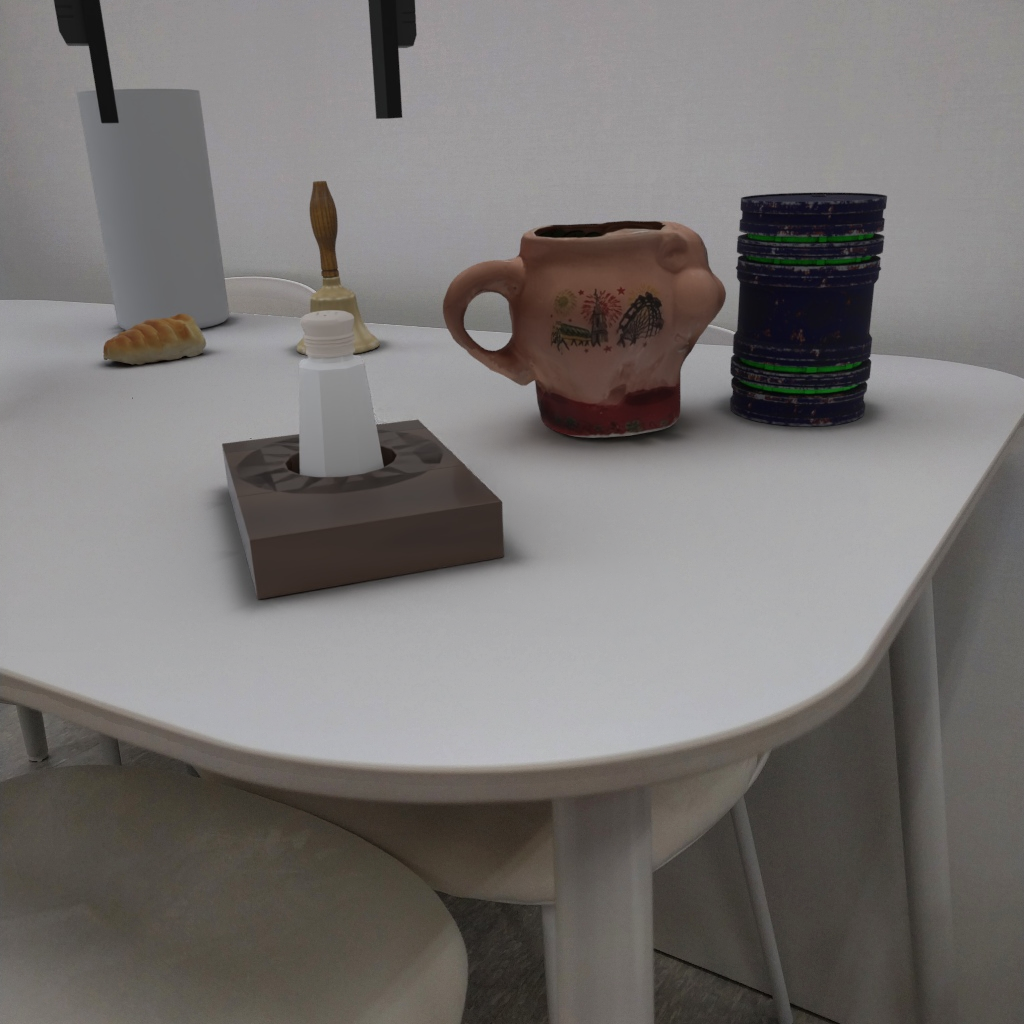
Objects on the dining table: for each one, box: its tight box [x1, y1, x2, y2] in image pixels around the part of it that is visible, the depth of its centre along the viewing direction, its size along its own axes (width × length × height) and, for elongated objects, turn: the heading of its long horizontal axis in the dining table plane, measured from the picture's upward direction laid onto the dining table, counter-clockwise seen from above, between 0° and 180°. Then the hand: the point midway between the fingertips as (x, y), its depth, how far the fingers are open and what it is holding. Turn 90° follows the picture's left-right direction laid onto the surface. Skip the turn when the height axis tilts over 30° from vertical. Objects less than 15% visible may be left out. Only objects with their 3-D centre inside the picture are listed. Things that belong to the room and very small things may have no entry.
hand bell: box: [295, 180, 380, 356], centre depth 95 cm, size 8×8×16 cm
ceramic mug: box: [442, 220, 727, 439], centre depth 66 cm, size 20×12×14 cm, turn 113°
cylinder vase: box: [76, 88, 230, 331], centre depth 109 cm, size 12×12×25 cm
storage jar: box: [729, 192, 888, 427], centre depth 69 cm, size 10×10×15 cm
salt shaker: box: [298, 310, 384, 477], centre depth 53 cm, size 5×5×11 cm
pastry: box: [102, 314, 207, 366], centre depth 95 cm, size 9×7×4 cm
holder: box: [221, 419, 505, 600], centre depth 53 cm, size 16×12×3 cm
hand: (255, 121), depth 48 cm, fingers open, 13 cm apart
